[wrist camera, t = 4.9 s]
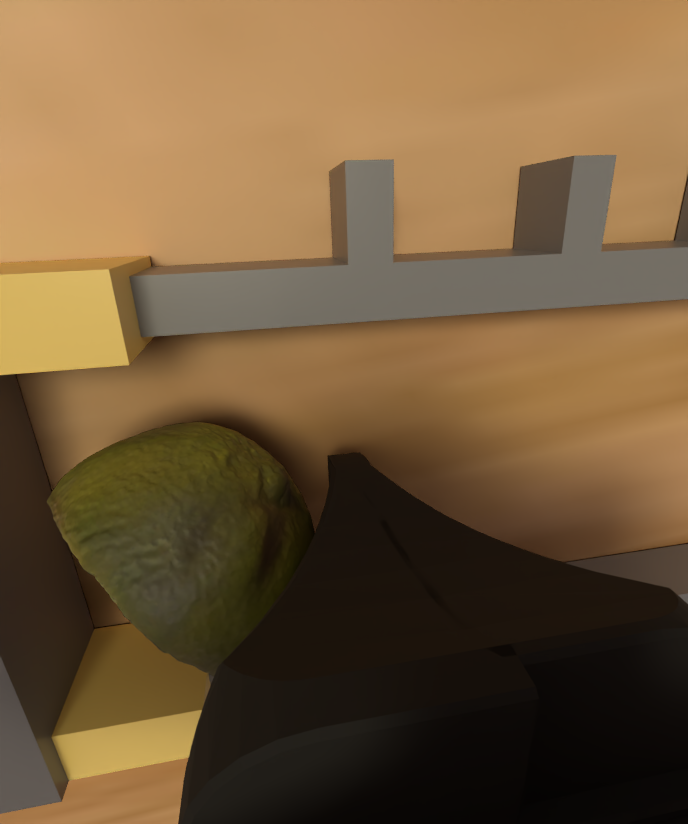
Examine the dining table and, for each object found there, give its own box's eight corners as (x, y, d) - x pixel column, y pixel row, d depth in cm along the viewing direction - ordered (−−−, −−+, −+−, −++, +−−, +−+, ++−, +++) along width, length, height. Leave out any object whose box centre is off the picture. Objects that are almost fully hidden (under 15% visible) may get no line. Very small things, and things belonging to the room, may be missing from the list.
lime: (289, 560, 12) (303, 761, 8) (90, 542, 11) (-27, 762, 7) (328, 405, 11) (373, 543, 6) (102, 366, 10) (-40, 499, 5)
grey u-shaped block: (685, 604, 16) (783, 691, 13) (24, 720, 13) (-44, 866, 10) (822, 159, 11) (1030, 137, 8) (-204, 183, 8) (-472, 162, 5)
